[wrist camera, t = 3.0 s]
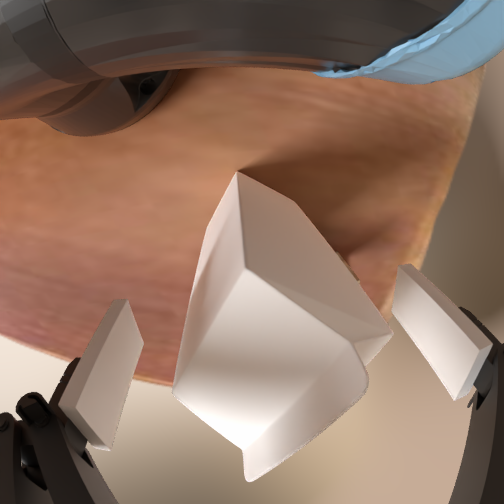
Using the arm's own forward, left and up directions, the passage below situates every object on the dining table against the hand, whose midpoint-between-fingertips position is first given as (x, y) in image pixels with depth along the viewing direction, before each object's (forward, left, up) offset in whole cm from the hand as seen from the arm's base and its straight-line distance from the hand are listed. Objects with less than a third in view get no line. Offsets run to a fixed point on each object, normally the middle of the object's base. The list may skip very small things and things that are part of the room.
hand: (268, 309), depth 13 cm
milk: (0, 0, -15) cm, 15 cm away
